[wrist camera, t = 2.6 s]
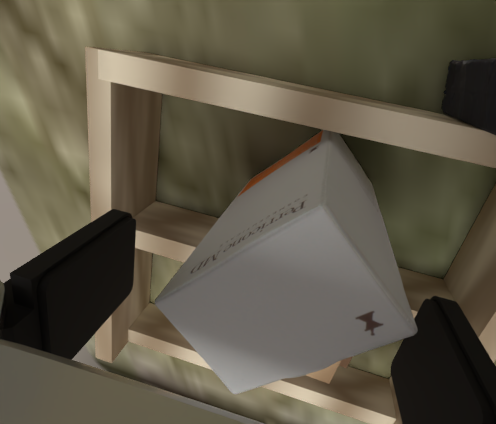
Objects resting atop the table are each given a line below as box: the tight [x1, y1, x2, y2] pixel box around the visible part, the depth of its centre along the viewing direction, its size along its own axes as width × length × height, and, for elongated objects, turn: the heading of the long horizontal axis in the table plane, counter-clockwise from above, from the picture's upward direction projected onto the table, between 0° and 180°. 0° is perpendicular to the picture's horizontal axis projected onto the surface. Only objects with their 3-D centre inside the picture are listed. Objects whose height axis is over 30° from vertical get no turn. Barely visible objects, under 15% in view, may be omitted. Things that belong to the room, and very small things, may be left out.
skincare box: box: [155, 130, 418, 394], centre depth 14 cm, size 6×4×12 cm
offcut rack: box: [85, 46, 496, 424], centre depth 19 cm, size 21×19×5 cm
